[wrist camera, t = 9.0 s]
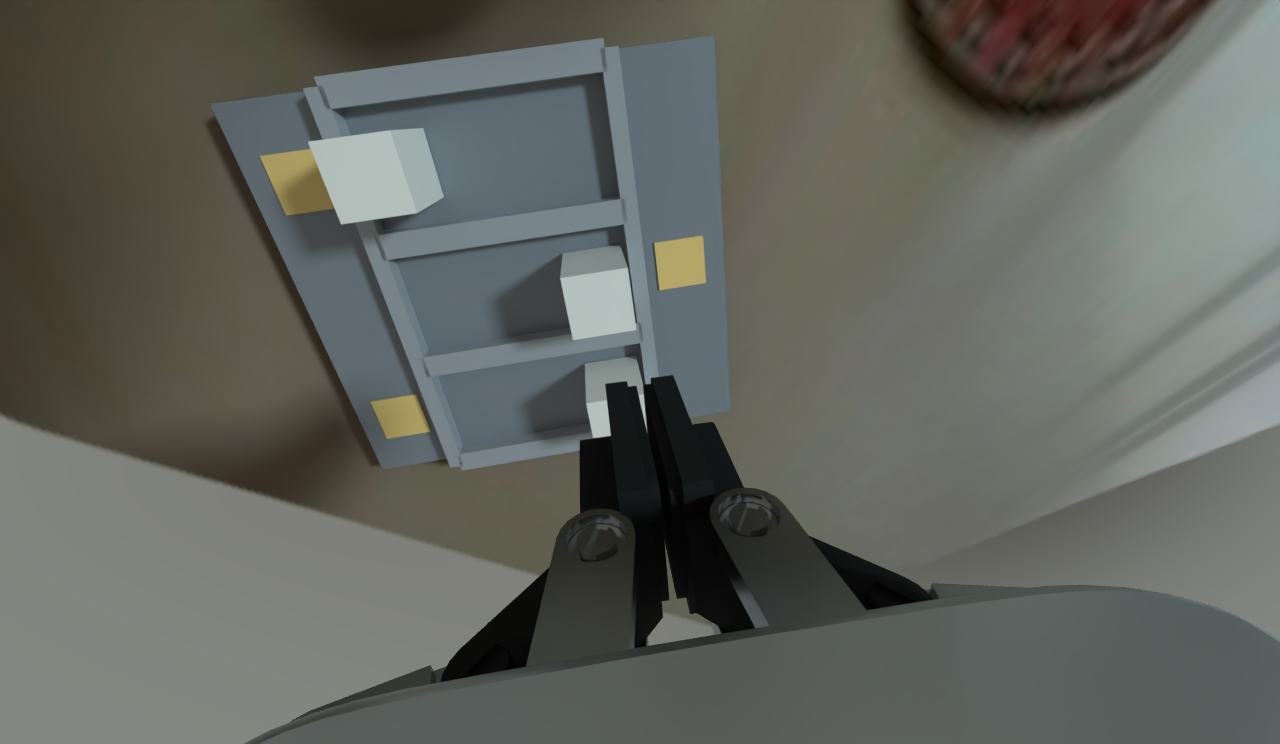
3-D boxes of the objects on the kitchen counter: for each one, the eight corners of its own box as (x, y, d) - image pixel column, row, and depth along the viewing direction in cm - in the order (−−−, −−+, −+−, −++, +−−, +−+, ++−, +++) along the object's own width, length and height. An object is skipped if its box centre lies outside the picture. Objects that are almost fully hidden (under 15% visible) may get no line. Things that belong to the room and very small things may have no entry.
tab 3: (635, 355, 29) (645, 393, 25) (641, 399, 30) (651, 442, 26) (584, 363, 28) (585, 403, 25) (593, 407, 30) (596, 451, 26)
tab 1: (423, 128, 22) (389, 130, 18) (443, 197, 24) (416, 213, 20) (356, 137, 22) (307, 141, 18) (380, 206, 23) (341, 224, 19)
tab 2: (619, 244, 26) (627, 267, 22) (627, 298, 27) (636, 329, 23) (562, 252, 25) (559, 278, 21) (573, 307, 27) (572, 340, 23)
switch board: (705, 31, 23) (719, 22, 21) (724, 403, 33) (735, 424, 31) (227, 95, 22) (189, 93, 20) (392, 459, 32) (379, 484, 30)
